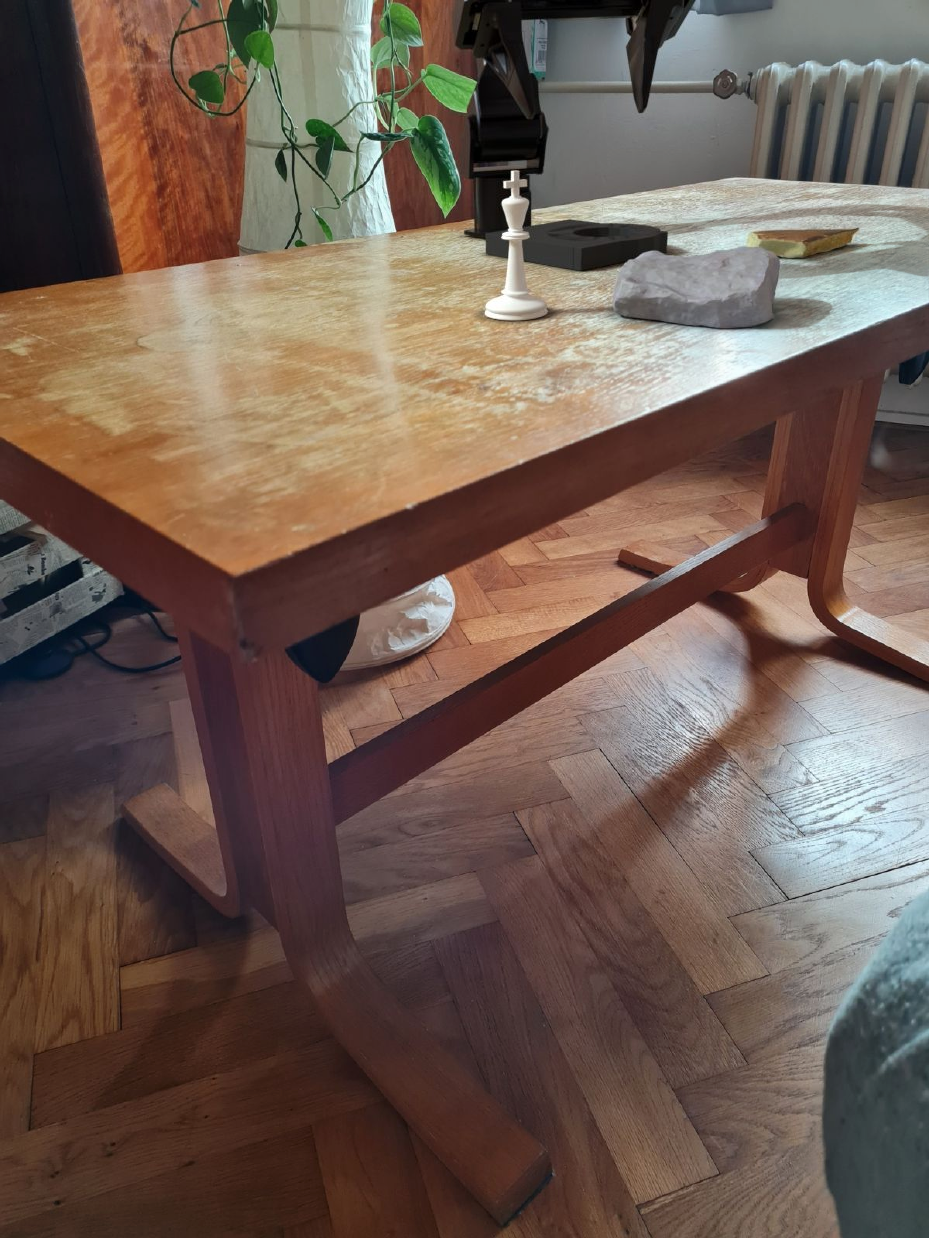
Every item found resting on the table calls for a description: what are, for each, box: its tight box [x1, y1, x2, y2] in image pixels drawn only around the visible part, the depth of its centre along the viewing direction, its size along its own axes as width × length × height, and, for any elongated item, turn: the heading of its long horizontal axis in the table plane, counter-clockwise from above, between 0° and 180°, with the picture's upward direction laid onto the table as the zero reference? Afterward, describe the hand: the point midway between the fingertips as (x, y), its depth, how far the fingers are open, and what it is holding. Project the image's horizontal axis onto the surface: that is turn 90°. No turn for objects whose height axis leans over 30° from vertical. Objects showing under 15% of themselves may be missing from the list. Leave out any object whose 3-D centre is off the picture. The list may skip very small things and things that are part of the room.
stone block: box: [612, 246, 781, 329], centre depth 67 cm, size 12×5×10 cm
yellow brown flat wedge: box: [745, 227, 860, 259], centre depth 86 cm, size 11×8×2 cm
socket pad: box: [485, 218, 669, 272], centre depth 90 cm, size 15×14×2 cm
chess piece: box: [484, 171, 549, 322], centre depth 67 cm, size 5×5×10 cm
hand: (587, 113), depth 70 cm, fingers open, 9 cm apart
